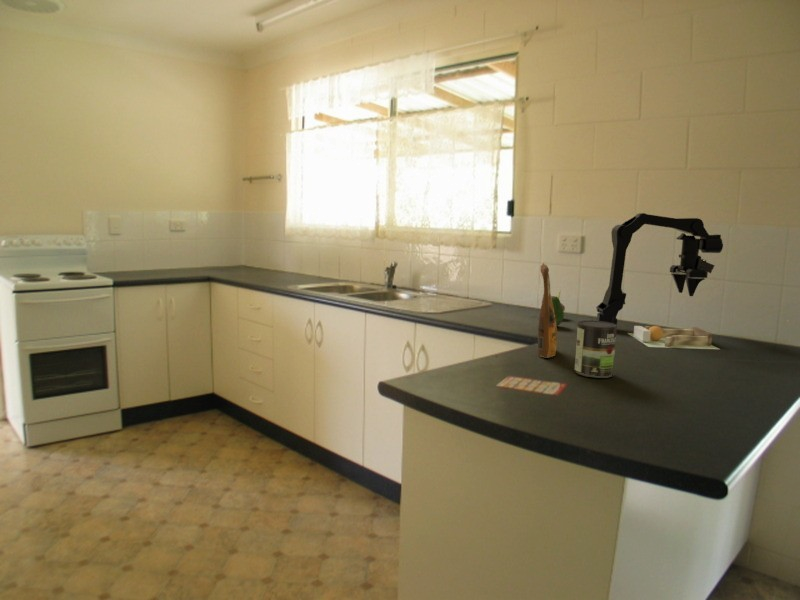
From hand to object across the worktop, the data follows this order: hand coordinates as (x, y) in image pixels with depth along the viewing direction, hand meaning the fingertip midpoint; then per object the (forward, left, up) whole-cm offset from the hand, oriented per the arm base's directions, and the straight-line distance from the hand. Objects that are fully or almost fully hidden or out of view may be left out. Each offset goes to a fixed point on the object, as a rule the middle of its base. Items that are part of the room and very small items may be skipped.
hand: (685, 294), depth 215 cm
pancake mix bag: (-58, -40, -15) cm, 72 cm away
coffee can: (-49, -62, -15) cm, 81 cm away
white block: (-21, -17, -15) cm, 31 cm away
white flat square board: (-11, -17, -15) cm, 25 cm away
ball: (-16, -17, -12) cm, 26 cm away
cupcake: (-43, +22, -15) cm, 51 cm away
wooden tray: (-8, -17, -14) cm, 24 cm away
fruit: (-47, +4, -15) cm, 50 cm away
